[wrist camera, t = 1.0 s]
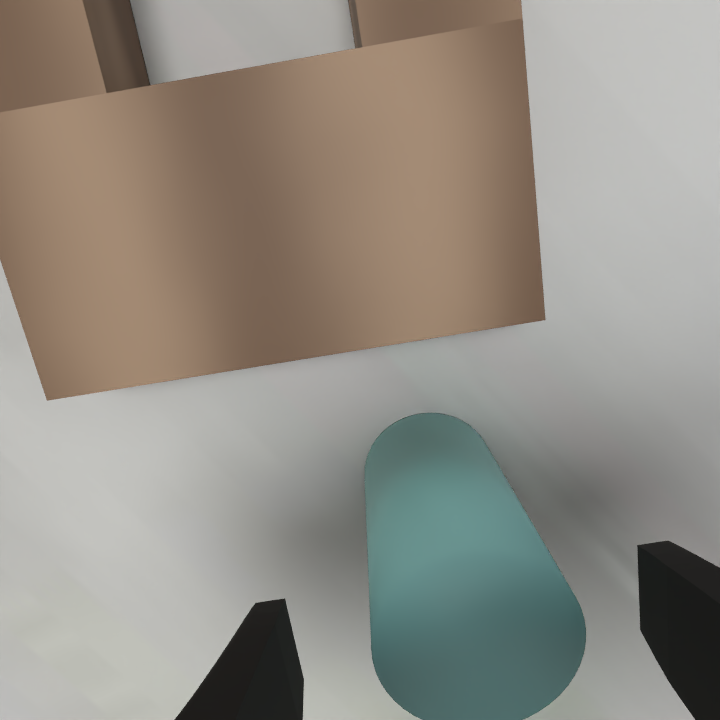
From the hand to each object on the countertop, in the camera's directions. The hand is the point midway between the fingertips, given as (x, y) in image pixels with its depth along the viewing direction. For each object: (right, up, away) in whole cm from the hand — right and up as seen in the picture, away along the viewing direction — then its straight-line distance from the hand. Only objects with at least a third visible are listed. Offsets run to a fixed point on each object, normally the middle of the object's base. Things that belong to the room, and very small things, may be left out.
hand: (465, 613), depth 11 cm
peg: (0, +2, +6) cm, 6 cm away
